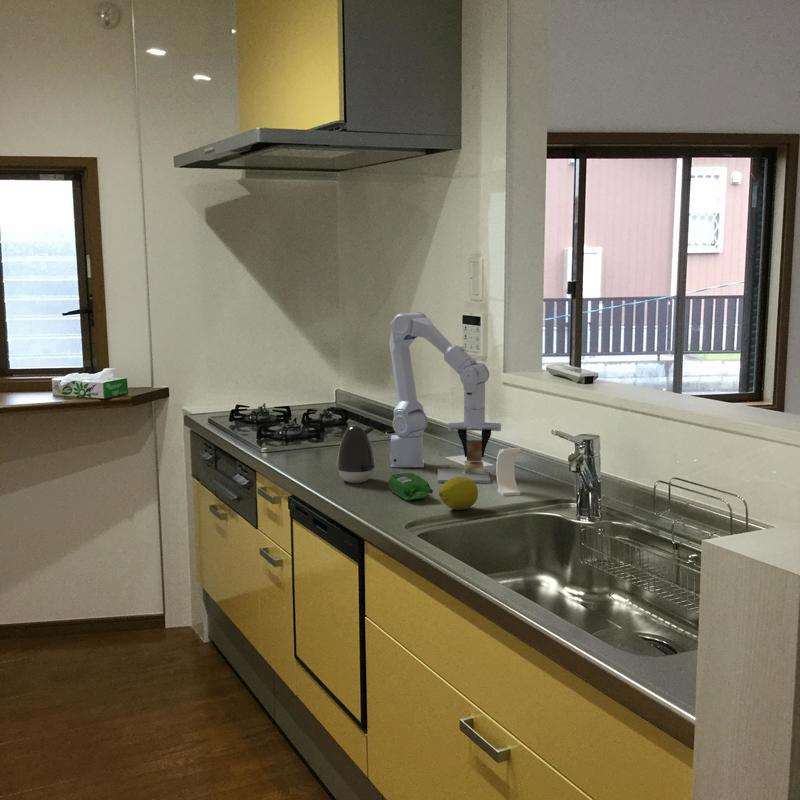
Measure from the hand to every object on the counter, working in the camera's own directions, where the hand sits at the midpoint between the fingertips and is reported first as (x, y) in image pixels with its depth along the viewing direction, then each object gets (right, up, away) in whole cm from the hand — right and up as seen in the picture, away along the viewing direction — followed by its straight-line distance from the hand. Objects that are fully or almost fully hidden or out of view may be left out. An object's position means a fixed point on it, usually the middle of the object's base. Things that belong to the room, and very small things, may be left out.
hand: (474, 456), depth 262 cm
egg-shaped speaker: (-32, -6, -6) cm, 33 cm away
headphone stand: (+7, -8, -19) cm, 22 cm away
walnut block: (0, -1, 0) cm, 1 cm away
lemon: (-7, -11, -36) cm, 38 cm away
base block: (0, -4, +1) cm, 4 cm away
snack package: (-18, -9, -22) cm, 30 cm away
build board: (-3, -6, -2) cm, 7 cm away
